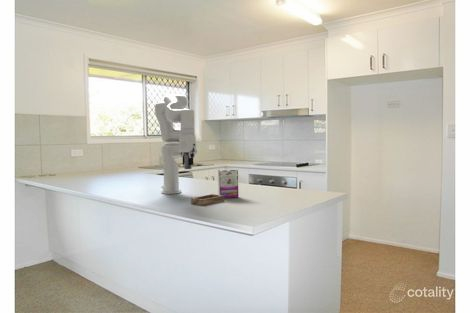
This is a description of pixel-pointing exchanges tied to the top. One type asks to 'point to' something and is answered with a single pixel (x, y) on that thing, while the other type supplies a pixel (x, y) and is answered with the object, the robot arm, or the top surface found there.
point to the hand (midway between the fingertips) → (188, 164)
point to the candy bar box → (228, 183)
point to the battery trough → (207, 199)
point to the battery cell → (186, 161)
